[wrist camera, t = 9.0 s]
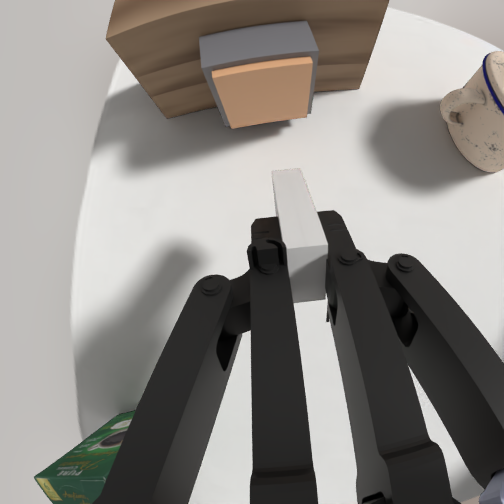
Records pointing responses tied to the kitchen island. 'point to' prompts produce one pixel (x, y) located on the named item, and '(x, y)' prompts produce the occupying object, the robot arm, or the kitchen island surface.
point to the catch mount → (229, 18)
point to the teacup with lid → (479, 115)
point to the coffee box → (85, 465)
